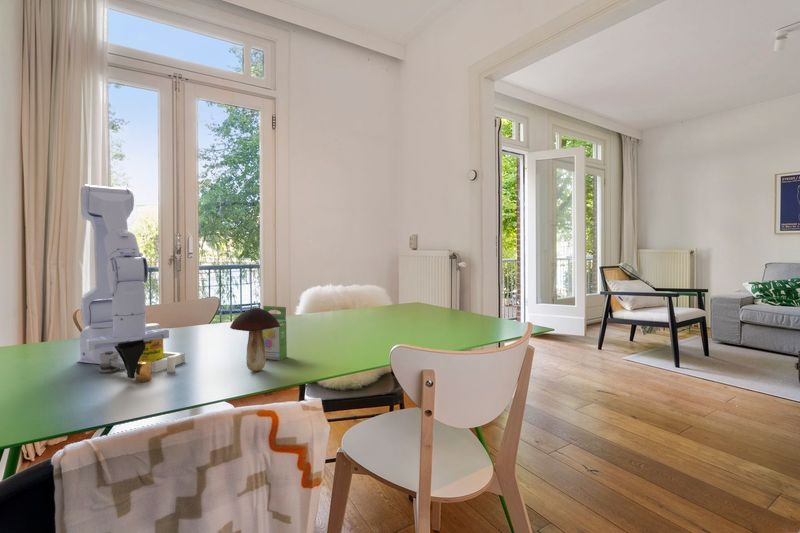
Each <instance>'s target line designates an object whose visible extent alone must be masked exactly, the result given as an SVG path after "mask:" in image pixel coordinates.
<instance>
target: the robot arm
mask: <svg viewBox="0 0 800 533" xmlns="http://www.w3.org/2000/svg"><path fill="white" fill-rule="evenodd" d="M134 196H135V195H134V192H133V190H131V189H130V188H129V187H126V188H123V187H122V188H121V187H110V186H100V185H89V184H86V183H85V184H83V185H82V186H81V188H80V197H79V198H80V214H81V215H82V219H84V220H86V221H89V222H90V223H91V225H92V229H93V242H94V243H93V246H94V247H93V249H94V250H93V251H94V252H93V253H94V254H93V255H94V274H95V275H94V278H95V279H94V280H95V283H94V284H95V286H94V287H93V288H92V289H90V290H89V291H87V292H85V293H84V294H83V295H82V297H81V305H80V307H81V308H80V312H81V313H80V316H81V322H82V325H84V328H83V329H82V330H81V331H80V334H79V353H80V354H79V355H80V356H79V359H77V360H76V362H78V363H87V364H94V365H95V364H98V365H100V356H99V355H100V354H102V353H105V352H107V351H113V352H118V353H119V359H122V360H123V362H124V365H125V367H126V370H125V371H126V376H127V378H129V379H136V373H135V371H136V367H137V364H138V361H139V359H140V357H141V355H142V353H143V351H144V350H145V347H146V344H145V343H144V341H149V340H155V339H161V338H163V340H164V339H165V340H166V339H169V338H170V329H167V328H159V329H157V330H146V324H147V322H146V294H145V292H146V291H145V290H146V286H145V284H146V283H147V282H148V279H149V264H148V259H147V257H146V256H145V255H144V253H141V252H140V250H139V249H140V248H139V246H138V242H137V238H136V235H135V234H134V233H133V232H131V231H130V230H129V229H128V219H129V217H130V215H131V214H132V212H133V211H134V206H135V199H134V198H135V197H134Z"/></svg>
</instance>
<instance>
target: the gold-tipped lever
mask: <svg viewBox="0 0 800 533" xmlns="http://www.w3.org/2000/svg"><path fill="white" fill-rule="evenodd" d="M99 356H100V364H99V368H100V369H102V370H106V369H113V368H121V369H120V370H125V371H126V367H125V365H124V362H123V360H121V359H119V353H118V352H113V351H107V352H105V353H102V354H100V355H99ZM150 380H152V368H151V361H142V362H138V364H137V367H136V371H135V381H136V382H137V383H142V382H148V381H150Z"/></svg>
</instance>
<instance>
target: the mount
mask: <svg viewBox="0 0 800 533" xmlns="http://www.w3.org/2000/svg"><path fill="white" fill-rule="evenodd" d="M119 371H121V369H120V368H113V369H106V370H102V369H100V367H99V368H98V373H99V374H103V375H105V374H113V373H117V372H119Z"/></svg>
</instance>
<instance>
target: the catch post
mask: <svg viewBox="0 0 800 533" xmlns="http://www.w3.org/2000/svg"><path fill="white" fill-rule="evenodd" d="M166 371H167V373H168V374H170V373H175V372H176V365H175V356H169V357H167V369H166Z"/></svg>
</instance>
